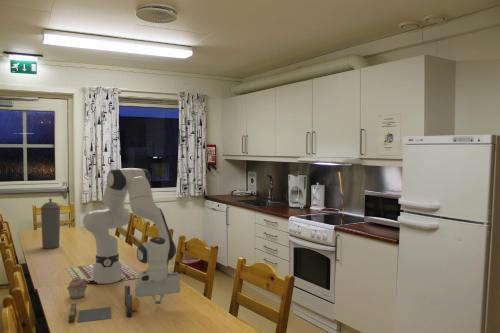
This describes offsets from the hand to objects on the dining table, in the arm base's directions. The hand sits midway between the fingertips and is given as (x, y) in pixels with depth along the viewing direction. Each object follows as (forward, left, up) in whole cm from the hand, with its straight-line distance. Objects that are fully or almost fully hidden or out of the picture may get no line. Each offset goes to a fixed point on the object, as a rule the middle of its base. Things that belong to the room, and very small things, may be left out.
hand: (157, 303), depth 191 cm
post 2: (+6, -13, -2) cm, 15 cm away
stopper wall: (-1, -36, -2) cm, 36 cm away
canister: (-138, -59, -2) cm, 150 cm away
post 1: (-7, -13, -2) cm, 15 cm away
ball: (+1, -11, +1) cm, 11 cm away
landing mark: (0, -27, -2) cm, 27 cm away
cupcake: (-26, -35, -2) cm, 44 cm away
